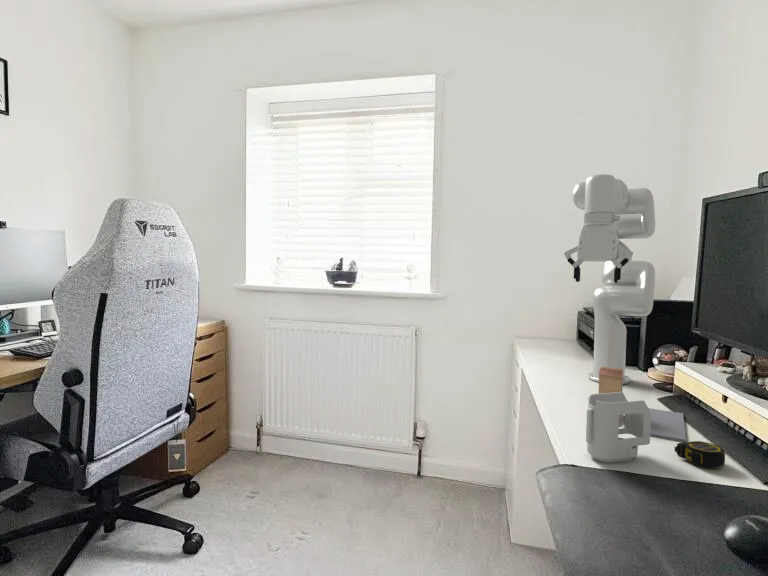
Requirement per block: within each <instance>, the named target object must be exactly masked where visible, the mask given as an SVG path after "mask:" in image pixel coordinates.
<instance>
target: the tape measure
mask: <svg viewBox="0 0 768 576" xmlns="http://www.w3.org/2000/svg"><path fill="white" fill-rule="evenodd" d="M673 448H674V449H673V450H674V452H676V455H677V456H678V457H679V458H681V459H685V460H686V461H688V462H689V463H691V464H694V465H696V466H700V467H702V468H703V467H704V468H710V469H711V468H712V469H713V468H716V469H717V468H721V467H723V466H725V462H726V452H725V450H724V448H722V447H721V446H720V445H718V444H714V443H710V442H707V441H701V440H695V441H686V442H678V443H677V444H676V446H674V447H673Z"/></svg>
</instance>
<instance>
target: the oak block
mask: <svg viewBox="0 0 768 576" xmlns="http://www.w3.org/2000/svg"><path fill="white" fill-rule="evenodd" d="M623 385H624V384H623V369H618V368H610V367H601V368H600V370H599V382H598V394H601V393H614V392H623Z"/></svg>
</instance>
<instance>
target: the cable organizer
mask: <svg viewBox="0 0 768 576" xmlns="http://www.w3.org/2000/svg"><path fill="white" fill-rule="evenodd" d="M587 404H588V405H587V410H586V426H585V427H586V428H585V430H586V433H585V441H586V451H587V453H588V454H589V455H590V456H591V457H592V458H593V459H595V460H597V461H599V462H603V463H608V464H609V463H612V464H613V463H618V462H623V463H624V462H625V463H626V462H630V461H632V460H633V459H634V458H636V457H637V456H638V454H639V452H638V451H639V446H648V445H650V443H651V436H650V428H651V411H650V410H649V409H648V408H649V407H648V405H647V403H646V402H645V400H644V399H642V400H631V401H628V399H627V397H626V396H625V394H624V392H623V391H622V392H614V393H601V394H599V393H593V394H590V395H588V402H587ZM623 416H624V427H623ZM621 427H623V428H621ZM625 434H627V435H631V436H634V437H628V438H625V437H624V438H623V437H619V435H625Z"/></svg>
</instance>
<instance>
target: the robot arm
mask: <svg viewBox="0 0 768 576" xmlns="http://www.w3.org/2000/svg"><path fill="white" fill-rule="evenodd" d="M572 201H573V203H574V205H575V206H576V208H577V209H579V210H583V211H584V212H583V213H584V215H583V216H584V217H583V225H581V227H580V231H579V234H578V243H577V246H575V247H572V248H571V249H569V250H567V251H565V252H563V253H564V256H565V259H566V260H567V262H568V263H569V264H570V265H571V266H572V267H573V279H574V280H575V282H576V283H577V282H578V283H579V282H581V267H580V266H581V264H582V263H584V262H603V265H602V270H601V271H602V272H601V282H602V284H603V285H601V286H599V287H597V288H596V289H595V290H594V291H593V292H592V305H593V316H594V337H593V339H594V341H593V342H594V343H593V347H594V348H593V366H592V367H593V371H590V372H588V374H587V377H588V379H589V380H591V381H593V382H597V383H599V370H600V368H601V367H610V368H618V369H623V385H626V384H629V383H630V382H631V377H629V376H627V375H626V355H627V354H626V353H627V351H626V350H627V333H628V331H627V326H626V325H625V323H624V322H623V320H621V319H620V317H619V316H632V317H647V316H648V315H650V314H651V313H652V311H653V306H654V298H655V296H654V295H655V286H656V269H655V267H654V265H653V264H652V263H651V262H649V261H646V260H645V261H644V260H633V255H634V252H633V251H632V250H631V249H630V248H629V247H628V246H627V245H626V244H625V243H624V242H623V241H621V240H632V239H633V240H635V239H649V238H651V237H652V236H653V235H654V233H655V230H656V213H655V200H654V195H653V194H652V191H651V190H650V189H649V188H647V187H638V188H637V187H636V188H628V186H627V184H626V183H625V182H624V181H623V180H622V179H619V178H616V177H615V176H613V175H612V174H608V173H607V174H605V173H604V174H602V173H601V174H595V175H590V176H589V177H587V179H586V180H585V181H582V182H578V183H577V184H575V186H574V189H573V192H572ZM574 253H576V254H577V255H576V257H577V260H574V259H573V258H572V254H574Z"/></svg>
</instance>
